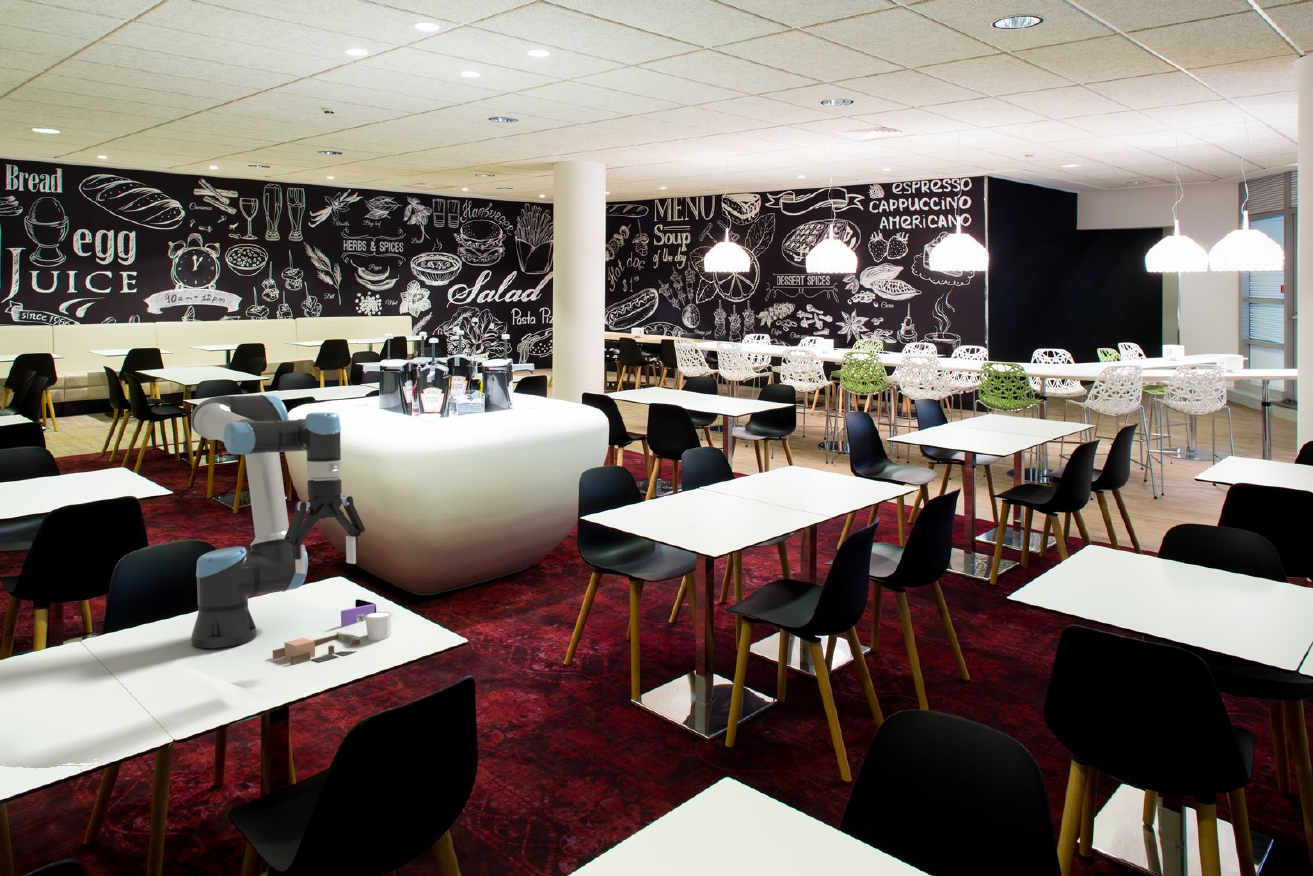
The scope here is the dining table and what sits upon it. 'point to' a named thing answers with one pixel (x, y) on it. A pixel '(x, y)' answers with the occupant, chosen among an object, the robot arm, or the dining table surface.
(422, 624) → the dining table surface
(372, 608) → the miniature room corner
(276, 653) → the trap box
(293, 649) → the block
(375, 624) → the white cup
